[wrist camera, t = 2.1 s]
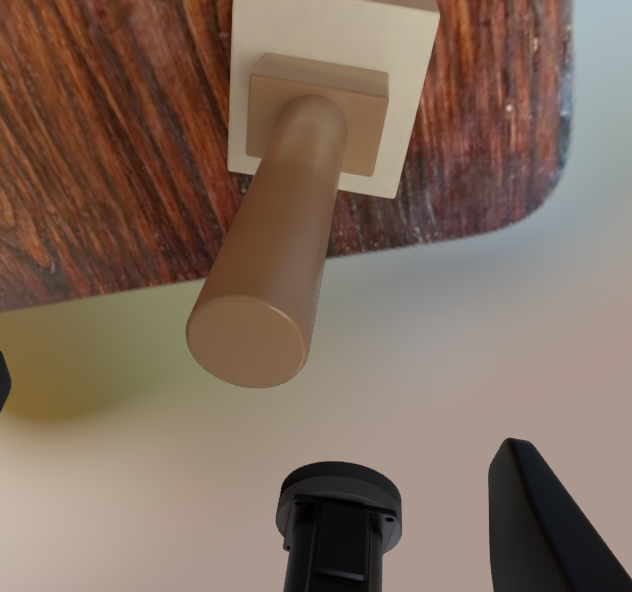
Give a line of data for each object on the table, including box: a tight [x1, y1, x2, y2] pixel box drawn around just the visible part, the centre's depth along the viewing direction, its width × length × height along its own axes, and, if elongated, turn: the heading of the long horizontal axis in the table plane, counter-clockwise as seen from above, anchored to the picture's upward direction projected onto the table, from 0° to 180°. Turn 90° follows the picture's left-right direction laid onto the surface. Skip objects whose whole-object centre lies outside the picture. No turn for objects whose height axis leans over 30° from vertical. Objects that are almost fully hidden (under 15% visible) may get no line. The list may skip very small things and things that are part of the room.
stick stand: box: [227, 0, 440, 199], centre depth 16 cm, size 5×5×5 cm
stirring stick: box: [186, 53, 389, 388], centre depth 11 cm, size 2×3×10 cm, turn 83°
